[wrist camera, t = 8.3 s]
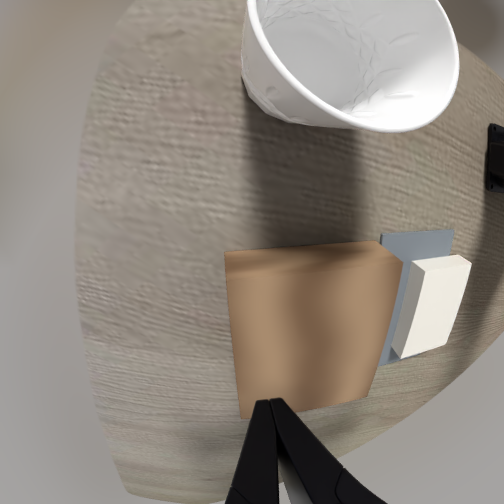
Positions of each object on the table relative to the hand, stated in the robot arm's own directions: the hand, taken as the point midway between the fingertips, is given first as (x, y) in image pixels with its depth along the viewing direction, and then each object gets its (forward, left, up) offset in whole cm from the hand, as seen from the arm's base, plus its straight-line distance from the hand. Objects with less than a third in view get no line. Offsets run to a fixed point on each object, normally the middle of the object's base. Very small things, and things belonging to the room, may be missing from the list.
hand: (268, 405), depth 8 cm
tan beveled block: (-5, +6, -12) cm, 14 cm away
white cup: (-4, -12, -12) cm, 18 cm away
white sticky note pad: (-17, +6, -10) cm, 20 cm away
